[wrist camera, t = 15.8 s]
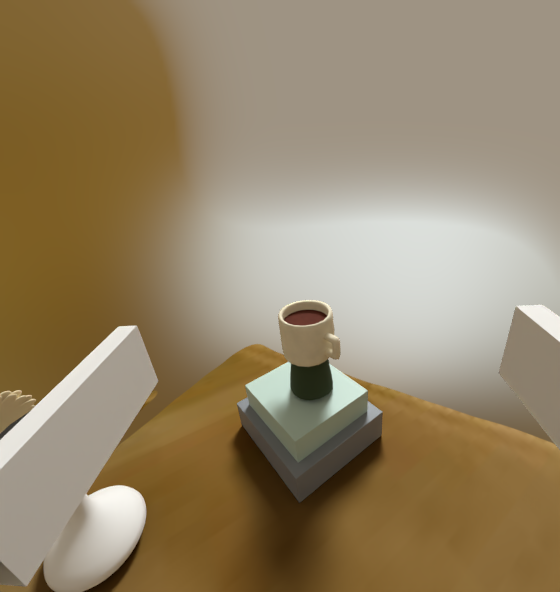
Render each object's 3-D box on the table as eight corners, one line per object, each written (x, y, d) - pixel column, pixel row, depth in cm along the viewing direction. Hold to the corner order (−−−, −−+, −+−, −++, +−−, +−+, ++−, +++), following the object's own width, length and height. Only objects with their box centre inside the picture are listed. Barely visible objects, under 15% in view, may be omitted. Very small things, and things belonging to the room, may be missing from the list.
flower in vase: (151, 481, 45) (82, 340, 34) (148, 571, 35) (50, 415, 24) (51, 519, 41) (-62, 378, 30) (17, 631, 32) (-168, 482, 21)
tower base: (314, 381, 59) (310, 343, 55) (381, 435, 47) (383, 391, 43) (242, 425, 52) (232, 384, 48) (299, 502, 40) (292, 457, 36)
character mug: (357, 392, 43) (356, 313, 38) (324, 423, 39) (318, 340, 34) (302, 361, 51) (295, 291, 45) (270, 384, 47) (257, 310, 41)
